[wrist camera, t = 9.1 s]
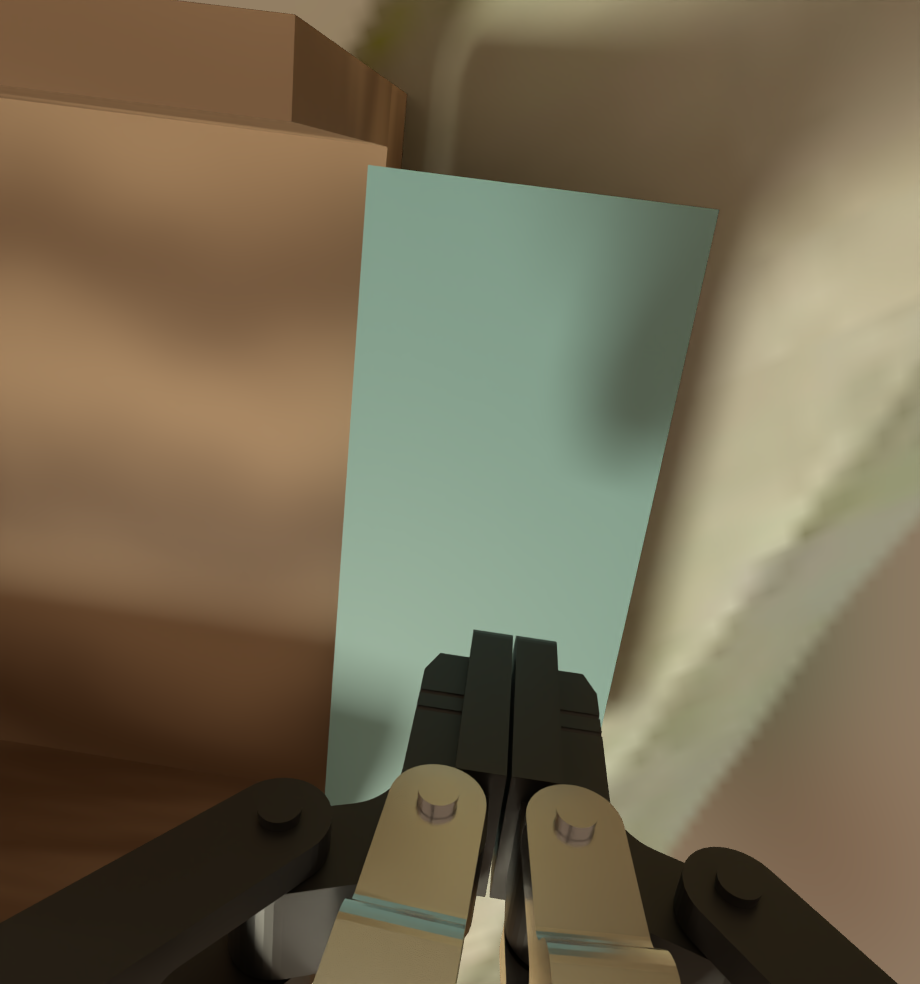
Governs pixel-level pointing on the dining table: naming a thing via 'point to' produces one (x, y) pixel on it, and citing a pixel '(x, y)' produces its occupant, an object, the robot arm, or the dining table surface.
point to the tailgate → (499, 435)
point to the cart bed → (170, 411)
